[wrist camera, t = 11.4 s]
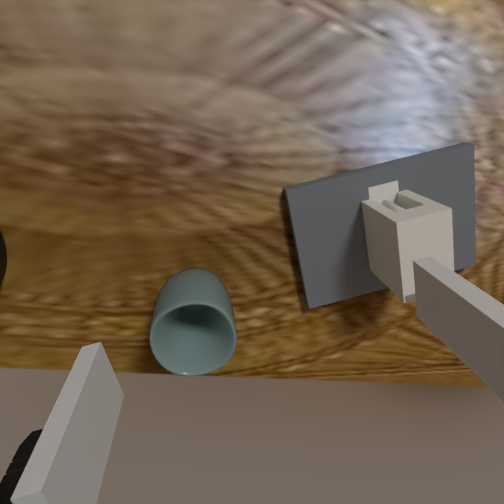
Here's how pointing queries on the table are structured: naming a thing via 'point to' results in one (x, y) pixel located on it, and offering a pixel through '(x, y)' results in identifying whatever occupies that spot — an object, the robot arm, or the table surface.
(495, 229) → the table surface
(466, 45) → the table surface
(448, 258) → the housing
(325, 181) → the board
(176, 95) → the table surface
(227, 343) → the cup
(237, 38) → the table surface
